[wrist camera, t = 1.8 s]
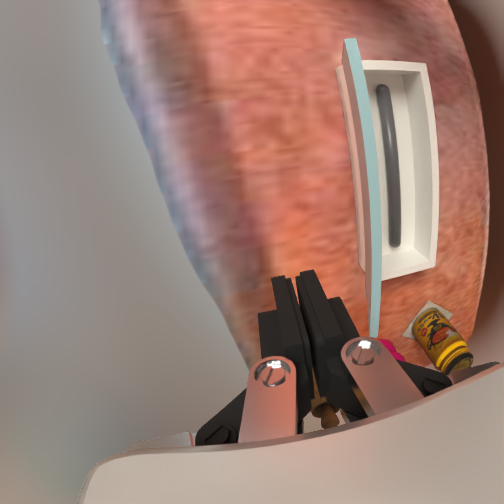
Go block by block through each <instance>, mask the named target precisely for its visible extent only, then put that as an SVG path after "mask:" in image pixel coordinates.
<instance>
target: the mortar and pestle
mask: <svg viewBox="0 0 504 504" xmlns="http://www.w3.org/2000/svg"><path fill="white" fill-rule="evenodd" d="M312 371H313V368H312ZM313 382H314V394H315V399H312V400H311V406H312V409H311V411H312V414H313V416H314V417H317V418H321V426H322V428H324V429H327V428H331V427H336V426H337V425H338V424H339V419H338V417H337V415H336V414H335V413H336V412H338V411H339V410H340V408H338V407H336V406H334V405H331V404H327V401H326V397H321V398H320V395H319V391H318V387H317V384H316V380H315V376H314V372H313Z"/></svg>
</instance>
